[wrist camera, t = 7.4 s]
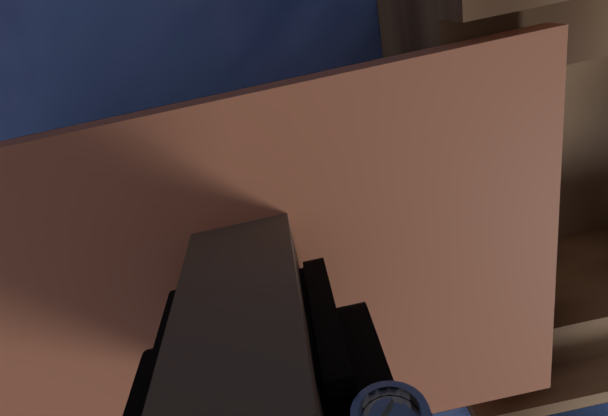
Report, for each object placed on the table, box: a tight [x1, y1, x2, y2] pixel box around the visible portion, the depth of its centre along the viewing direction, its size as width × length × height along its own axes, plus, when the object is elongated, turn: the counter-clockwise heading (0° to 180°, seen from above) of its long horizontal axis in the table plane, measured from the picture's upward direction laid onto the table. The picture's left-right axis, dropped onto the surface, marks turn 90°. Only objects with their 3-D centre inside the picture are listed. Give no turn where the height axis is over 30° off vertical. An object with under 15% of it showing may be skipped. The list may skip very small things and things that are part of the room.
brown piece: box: [0, 22, 568, 416], centre depth 10 cm, size 16×11×7 cm
